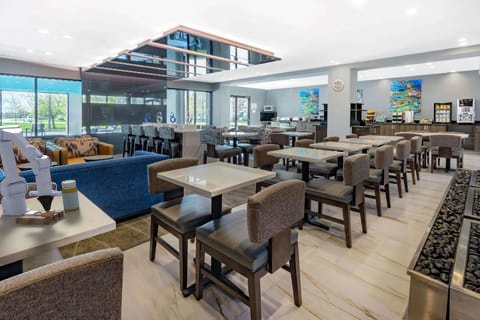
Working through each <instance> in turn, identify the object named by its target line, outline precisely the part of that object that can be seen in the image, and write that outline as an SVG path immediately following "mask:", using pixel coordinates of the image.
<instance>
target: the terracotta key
mask: <svg viewBox="0 0 480 320" xmlns="http://www.w3.org/2000/svg"><path fill="white" fill-rule="evenodd" d="M55 210H56V209H51V210H49V211H43V212H41V216H51V215H53V214H54V213H55Z"/></svg>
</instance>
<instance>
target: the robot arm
mask: <svg viewBox="0 0 480 320" xmlns="http://www.w3.org/2000/svg"><path fill="white" fill-rule="evenodd" d="M14 144H16V146H18V147H19V148H20V149H21V150H22V151H21V154H22V156H24V157H25V158H26V160H27V161H29V165H30V168H31V170H32V173H33V174H34V176H35V178H34V179H35V183H36V184H35V185H36V190H30V191H29V184H28V183H27V181H26V178H24V177H22V176H20V174H19V171H18V165H17V162H16V157H15V154H14V149H13V145H14ZM0 159H1V164H2V168H3V171H4V175H5V177H4V179H3V180H2V181H1V182H0V194H1V196H2V199H1V200H0V204H1V205H0V206H1V210H2V211H1V212H2V213H1V215H2V216H22V214H24V213H27V212H28V211H30V210H33V209H32V208H28V206H27V200H26V195H27V193H28V196H29V197H34V196H35V197H37V198H36V200H37V201H38V202H39V203H40V205H41V206H42V208H43V210H45V211H49V210H52V208H51V207H52V203H53V200H54V198H55V197H58V198H59V197H62V190H60V191H58V190H54V189H53V185H52V178H51V177H52V176H51V170H50V169H51V168H52V165H53V163H52V159H51V158H50V156H48V155H45V154H43V153H41V151H40V150H39V149H38V148H37V147H36V146H35V145H31V144H30V143H29V141H28V140H27V139H26V138H25V135H24V131H23V129H22V127H21V126H20V125H18V124H13V125H1V126H0ZM28 191H29V192H28Z"/></svg>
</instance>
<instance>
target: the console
mask: <svg viewBox="0 0 480 320" xmlns="http://www.w3.org/2000/svg"><path fill="white" fill-rule="evenodd" d="M54 210H55V213H54V214H53V215H51V216H41V212H43V211H45V210H44V209H32V210H30V211H39V213H38V214H36V215H35V216H25V215H24V214H25V213H24V214H22V215H17V216H16V217H14V219H15V224H16V225H44V226H45V225H48V226H50V225H52V224H53V223H54V222H57V221H58V220H60V219H62V218H63V217H65V213H64V211H65V210H64V209H61V210H60V209H57V210H56V209H54ZM28 212H29V211H28Z"/></svg>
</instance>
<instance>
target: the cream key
mask: <svg viewBox="0 0 480 320" xmlns="http://www.w3.org/2000/svg"><path fill="white" fill-rule="evenodd" d="M38 213H39V211H29V212H26V213H25V214H24V215H25V216H35V215H36V214H38Z"/></svg>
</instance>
